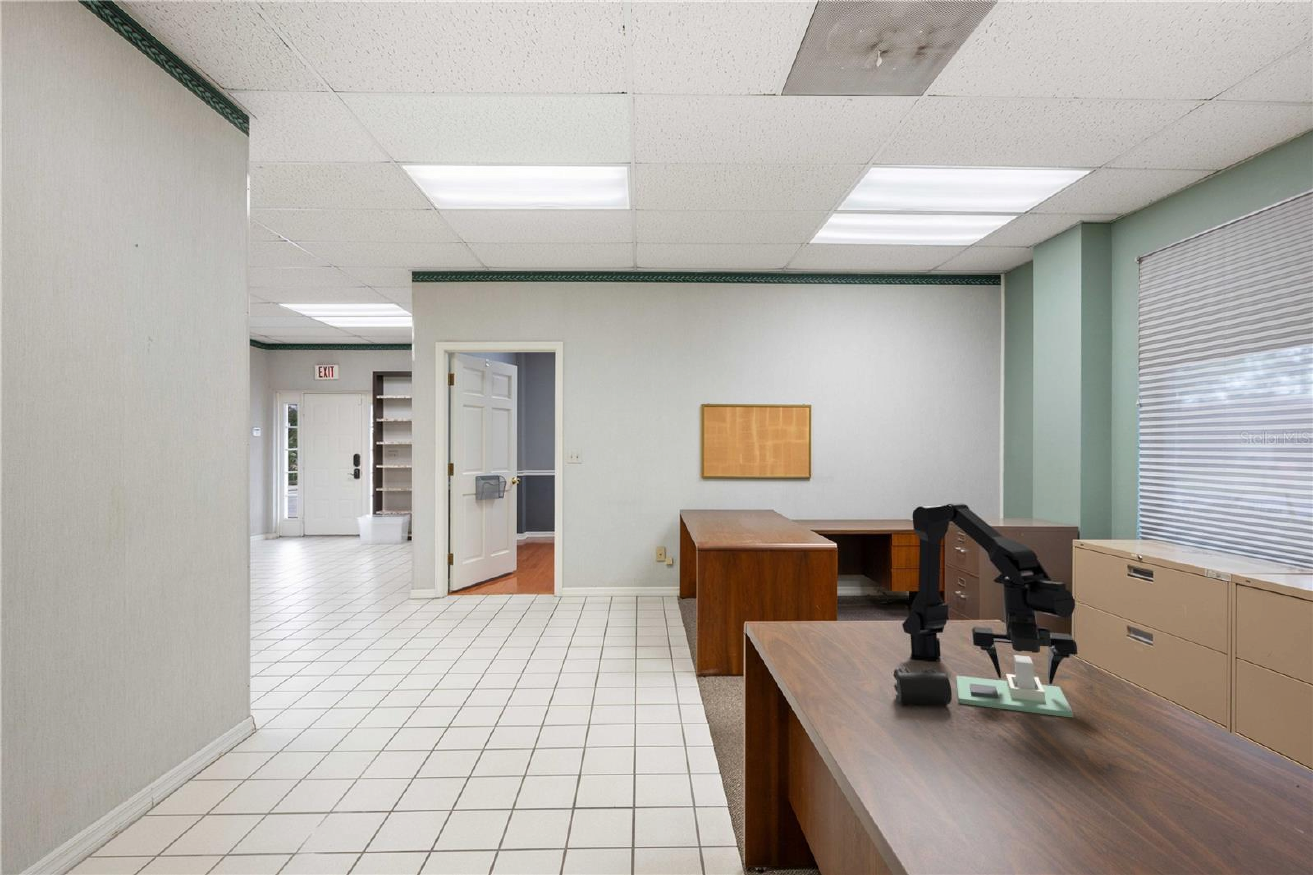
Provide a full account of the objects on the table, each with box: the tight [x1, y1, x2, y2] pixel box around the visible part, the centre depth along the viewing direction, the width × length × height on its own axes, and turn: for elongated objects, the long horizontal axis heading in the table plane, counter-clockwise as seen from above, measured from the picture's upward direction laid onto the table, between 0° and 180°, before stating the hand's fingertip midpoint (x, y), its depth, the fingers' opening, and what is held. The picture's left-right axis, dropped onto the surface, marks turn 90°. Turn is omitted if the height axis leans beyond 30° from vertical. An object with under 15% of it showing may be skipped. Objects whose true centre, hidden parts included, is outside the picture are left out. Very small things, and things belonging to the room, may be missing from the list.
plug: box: [1013, 654, 1035, 689], centre depth 124 cm, size 3×6×7 cm, turn 154°
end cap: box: [893, 668, 953, 707], centre depth 123 cm, size 10×7×7 cm
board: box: [956, 673, 1074, 718], centre depth 124 cm, size 20×14×3 cm
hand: (1024, 680), depth 124 cm, fingers open, 9 cm apart
